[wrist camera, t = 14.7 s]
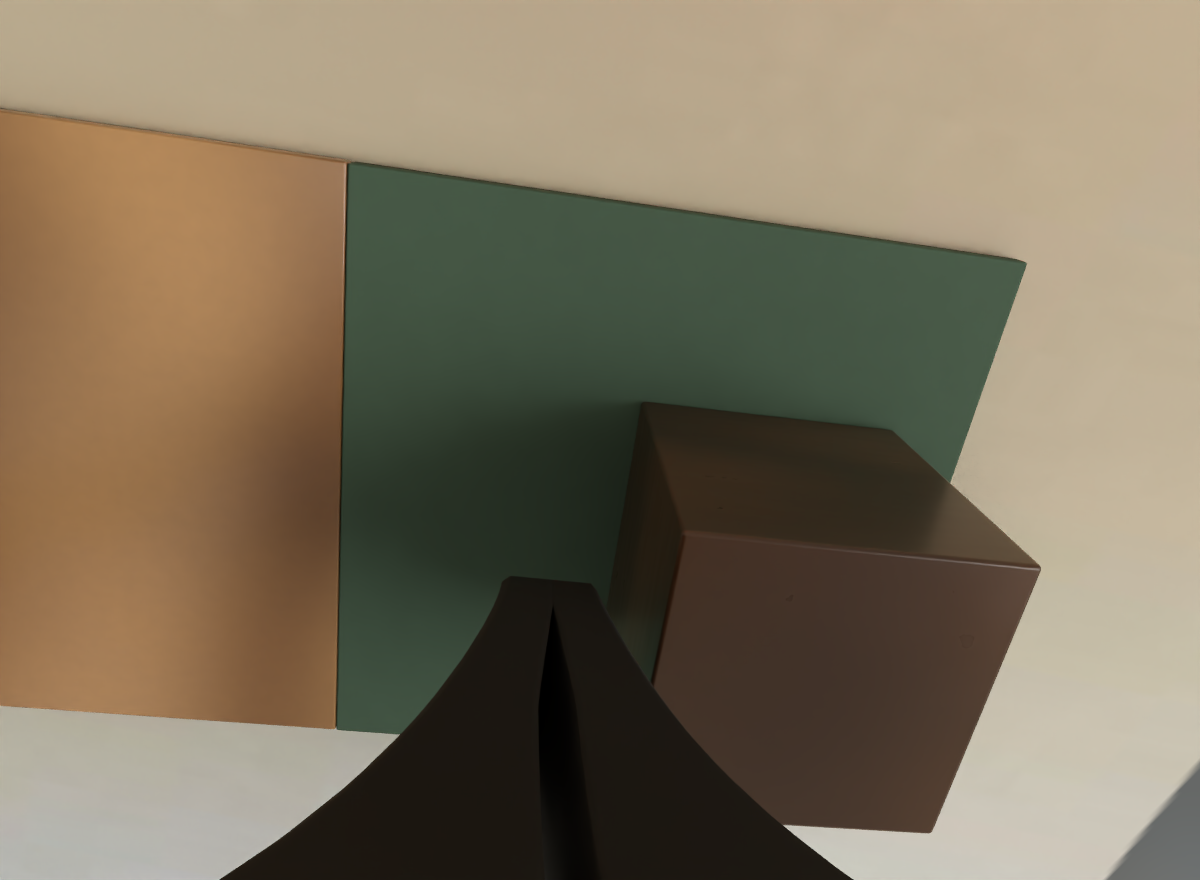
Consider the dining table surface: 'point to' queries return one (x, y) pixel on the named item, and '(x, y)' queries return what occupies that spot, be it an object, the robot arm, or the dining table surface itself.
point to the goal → (593, 385)
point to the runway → (169, 423)
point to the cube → (814, 609)
